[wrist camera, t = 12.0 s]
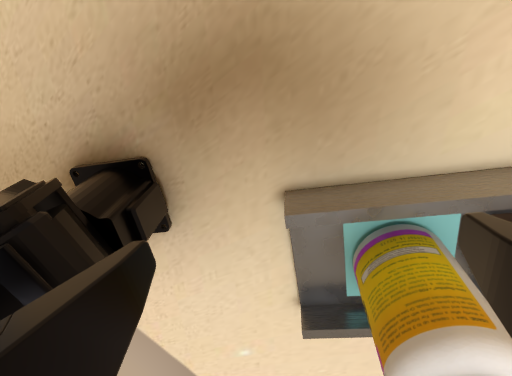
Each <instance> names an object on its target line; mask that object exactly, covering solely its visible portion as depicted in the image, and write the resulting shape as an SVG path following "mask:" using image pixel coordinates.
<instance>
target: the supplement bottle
mask: <svg viewBox="0 0 512 376" xmlns="http://www.w3.org/2000/svg"><path fill="white" fill-rule="evenodd" d="M353 270H354V274H355V278H356V281H357V285H358V288H359V292H360V295H361V298H362V302H363V305H364V309H365V312H366V315H367V319H368V322H369V326H370V329H371V333H372V336H373V339H374V343H375V346H376V350H377V353H378V357H379V360H380V364H381V367H382V371H383V375H384V376H512V338H511V337H510V335H509V334H508V332H507V331H506V329H505V328H504V326H503V325H502V323H501V322H500V320H499V319H498V317H497V316H496V314H495V313H494V311H493V309H492V308H491V306H490V305H489V303H488V302H487V300H486V299H485V298H484V296H483V295H482V294H481V292H480V291H479V290H478V288H477V287H476V286H475V284H474V283H473V282H472V281H471V279H470V278H469V277H468V275H467V274H466V273H465V271H464V270H463V269H462V267H461V266H460V265H459V263H458V262H457V261H456V259H455V258H454V257H453V255H452V254H451V253H450V252H449V250H448V249H447V248H446V246H445V245H444V244H443V243H442V241H441V240H440V239H439V238H438V237H437V236H436V235H435V234H434V233H432V232H431V231H429V230H427V229H425V228H422V227H419V226H416V225H409V224H398V225H391V226H387V227H384V228H381V229H379V230H377V231H375V232H373V233H371V234H370V235H368V236H367V237H366V238H365V239H364V240H363V241H362V242H361V243H360V245H359V246H358V248H357V249H356V251H355V254H354V258H353Z"/></svg>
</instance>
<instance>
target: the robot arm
mask: <svg viewBox="0 0 512 376" xmlns="http://www.w3.org/2000/svg"><path fill="white" fill-rule="evenodd" d="M140 162H142V163H143V164H144V166H142V165H141V164H140ZM76 171H77V172H78V173H79V175H78V174H77V173H76ZM70 175H71V177H72V180H73V182H74V184H75V186H76V187H75V188H73V189H72V190H70V191H69V192H67V193H66V192H65V191H64V190H63V188H62V187H61V186H62V184H61V183H60V182H59V180H58V179H57V178H54V179H52V180H50V181H48V182H46V183H45V182H44V180H43V181H41V182H39V183H34V182H31V181H28V180H25V179H23V180H21V181H19V182H17V183H16V184H14V185H12V186H10V187H8V188H6V189H4V190H2V191H0V376H117V374H118V371H119V369H120V367H121V364H122V362H123V359H124V357H125V354H126V352H127V349H128V347H129V345H130V342H131V340H132V337H133V335H134V332H135V330H136V328H137V325H138V323H139V320H140V318H141V315H142V312H143V309H144V306H145V303H146V299H147V296H148V293H149V289H150V286H151V283H152V279H153V276H154V272H155V269H156V261H155V258H154V256H153V253H152V251H151V248H150V246H149V244H148V242H147V240H148V239H149V238H150V236H151V235H152V233H159V232H167V231H168V230H169V229H170V227H171V222H170V220H169V217H168V214H167V212H168V209H167V206H166V203H165V201H164V198H163V195H162V192H161V189H160V186H159V184H158V183H157V182H156V180H155V177H154V174H153V171H152V168H151V165H150V163H149V161H148V160H147V159H146V158H144V157H139V158H132V159H125V160H117V161H110V162H103V163H95V164H88V165H81V166H75V167H73V168H72V169H71V170H70ZM162 224H164V225H166V227H165V226H163V225H162ZM458 243H459V247H460V249H461V251H462V253H463V255H464V257H465V259H466V261H467V263H468V265H469V267H470V269H471V271H472V273H473V275H474V277H475V279H476V281H477V283H478V285H479V287H480V289H481V291H482V293H483V295H484V296H485V298H486V300H487V301H488V303H489V305H490V306H491V308H492V309H493V311H494V313H495V314H496V316H497V317H498V319H499V320H500V322H501V323H502V325H503V326H504V328H505V329H506V331H507V332H508V334H509V335H510V337H511V338H512V223H511V222H508V221H506V220H503V219H500V218H497V217H495V216H492V215H489V214H486V213H483V212H474V213H465V214H464V215H463V216H462V218H461V224H460V230H459V237H458Z"/></svg>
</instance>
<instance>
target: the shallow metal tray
mask: <svg viewBox="0 0 512 376" xmlns="http://www.w3.org/2000/svg"><path fill="white" fill-rule="evenodd" d="M474 212H483V213H486V214H489V215H492V214H504V213H512V167H508V168H499V169H489V170H480V171H471V172H461V173H452V174H443V175H433V176H424V177H415V178H406V179H396V180H387V181H378V182H368V183H359V184H350V185H340V186H331V187H322V188H313V189H303V190H294V191H285V215H284V216H285V223H286V229H288V228H289V229H290V236H291V243H292V249H293V256H294V263H295V270H296V277H297V284H298V290H299V297H300V304H301V322H302V335H303V339H315V338H354V337H373V336H372V333H371V329H370V326H369V322H368V319H367V315H366V312H365V309H364V305H363V302H362V298H361V295H360V292H359V288H358V285H357V281H356V278H355V274H354V270H353V258H354V254H355V251H356V249H357V248H358V246H359V245H360V243H361V242H362V241H363V240H364V239H365V238H366V237H367V236H368V235H370V234H371V233H373V232H375V231H377V230H379V229H381V228H384V227H387V226H391V225H398V224H409V225H416V226H419V227H422V228H425V229H427V230H429V231H431V232H432V233H434V234H435V235H436V236H437V237H438V238H439V239H440V240H441V241H442V243H443V244H444V245H445V246H446V248H447V249H448V250H449V252H450V253H451V254H452V255H453V257H454V258H455V259H456V261H457V262H458V263H459V265H460V266H461V267H462V269H463V270H464V271H465V273H466V274H467V275H468V277H469V278H470V279H471V281H472V282H473V283H474V284H475V286H476V287H477V288H478V290H479V291H480V292H481V294H482V295H483V293H482V291H481V289H480V287H479V285H478V283H477V281H476V279H475V277H474V275H473V273H472V271H471V269H470V267H469V265H468V263H467V261H466V259H465V257H464V255H463V253H462V251H461V249H460V247H459V243H458V237H459V230H460V224H461V218H462V216H463V215H464V214H465V213H474ZM483 296H484V295H483ZM484 298H485V296H484ZM485 299H486V298H485ZM487 302H488V301H487Z"/></svg>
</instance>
